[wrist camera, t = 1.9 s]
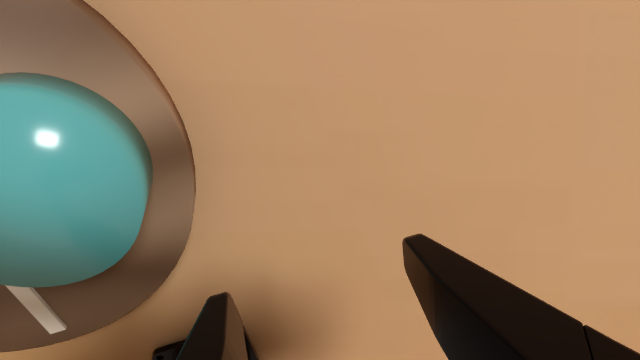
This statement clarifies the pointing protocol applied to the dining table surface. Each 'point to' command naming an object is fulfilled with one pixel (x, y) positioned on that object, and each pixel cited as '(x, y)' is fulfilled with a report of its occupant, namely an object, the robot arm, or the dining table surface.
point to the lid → (66, 181)
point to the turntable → (162, 141)
